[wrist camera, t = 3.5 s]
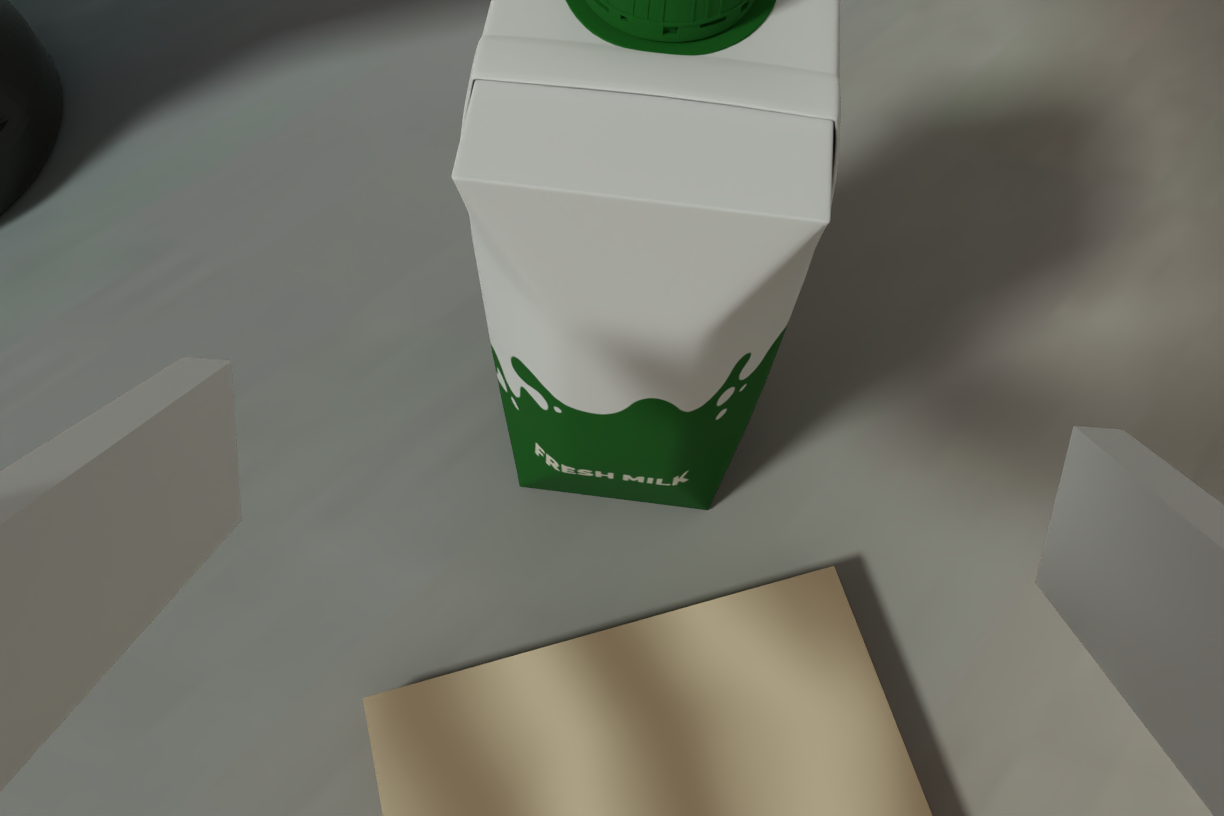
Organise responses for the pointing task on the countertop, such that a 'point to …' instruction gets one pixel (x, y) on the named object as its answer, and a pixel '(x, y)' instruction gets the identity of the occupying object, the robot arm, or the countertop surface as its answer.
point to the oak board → (660, 720)
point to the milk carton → (644, 225)
